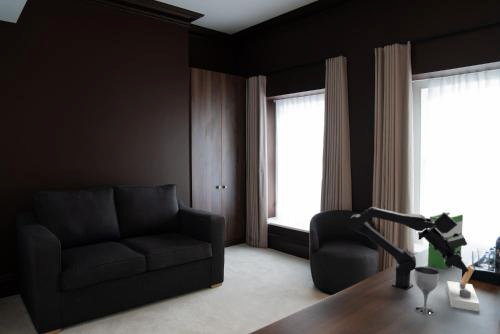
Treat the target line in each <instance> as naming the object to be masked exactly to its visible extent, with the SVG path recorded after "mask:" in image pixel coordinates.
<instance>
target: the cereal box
mask: <svg viewBox="0 0 500 334" xmlns="http://www.w3.org/2000/svg"><path fill="white" fill-rule="evenodd" d="M445 213H446V214H447V215H448V216H449V217H451V218H452V219H453V220H454V221H455V222H456V223H457V224H458V225H457V226H456V227H455V228H453V229H452V230H451V231H449V232H448V233H447V234H446V233H441V232H440V231H439V230H438V229H437V228H435V229H436V230H437V231H438V232H439V233H440V234H441V235H442V236H443V237H446V238H447V239H450V238H451V237H452V238H453V234H454V233H458V234H459V235H463V222H464V220H463V218H464V215H463V214H458V215H455V214H451V213H450V212H445ZM441 214H442V213H440V214H436V215H432V216H429V219H434V220H435V219H437V218H438V217H439V216H440V215H441ZM455 251H456V252H457V251H460V254H461V255H462V246H460V247H458V248H456V250H455ZM427 254H428V255H427V265H428V266H431V267H435V268H437V269H442V270H445V269H446V268H448V267H447V266H446V265H445V263H444V259H445V258H446V257H445V258H443V257H442V256H441V254H440V253H439V252H438V251H437V250H435V249H434V247H433V246H432V245H431V244H430V243H429V242H428V253H427Z"/></svg>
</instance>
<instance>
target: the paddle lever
mask: <svg viewBox="0 0 500 334" xmlns="http://www.w3.org/2000/svg"><path fill="white" fill-rule="evenodd" d="M467 268H468V271H467V272H466V271H464V272H465V273H464V274H463V276H462V278H461V280H460V281H459V283H460V286H461V288H463V289H464V288H465V285H466V284H468V283H469V280H470V278H471V276H472V275H473V273H474V271H475V269H474V266H472V265H468V267H467Z"/></svg>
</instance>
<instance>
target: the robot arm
mask: <svg viewBox="0 0 500 334" xmlns="http://www.w3.org/2000/svg"><path fill="white" fill-rule="evenodd" d="M446 213H447V212H441V213H440V214H441V215H440V216H439V217H438V218H437V219H435V220H434V219H430V218H429V217H425V216H424V215H422V214H416V213H401V212H396V211H392V210H387V209H383V208H378V207H376V206H370V207H369V208H368V209H365V210H364V211H362V212H361V213H356V214H355V213H354V214H353V215H351V217H350V218H349V219H348V221H347V222H348V226H349V228H350V229H351V230H353V231H355V232H357V233H358V234H362V235H364V236H366V237H367V238H368V239H370V240H371V241H372V242H373V243H375V244H376V245H377V246H379V247H380V248H381V249H382V250H384V251H385V252H386V253H387V254H389V255H390V256H392V257H393V258H394V260H395V261H396V262H395V282H393V283H391V286H393V287H397V288H400V289H402V290H408V289H410V288H412V287H413V286H414V284H413V283H411V272H412V271H415V268H416V267H417V260H416V256H415V254H414V253H413V252H412V251H410V250H409V249H408V248H407V247H404V248H403V249H402V248H399V247H398V246H396V245H395V244H394V243H393V242H391V241H390V240H389V239H387V237H384V236H383V235H382V234H381V233H380V232H378V231H377V230H376V229H374V228H373V227H372V226H371V225H370V224H369V221H370V220H372V219H373V218H376V219H380V220H384V221H389V222H392V223H397V224H401V225H403V226H406V227H408V228H410V229H411V230H414V231H417V235H418V240H419V241H420V240H422V239H423V238H424V239H425V241H427V242H428V244H429V243H430V244H431V245H432V246H433V247H434V249H435V250H437V251H438V252H439V253H440V254H441V256H442V257H443V258H445V257H446V258H445V259H444V263H445V265H446V266H447V268H448V269H450V268H451V267H454V268H457V269H459V270H461V271H463V272H467V271H468V267H467V265H466V264H465V262H464V261H463V260H462V259H463V257H462V253H461V254H460V251H457V252H456V251H455V250H456V248H458V247H460V246H461V247H463V246H468V243H467V241H466V239H465V237H464V234H462V235H459V234H458V233H454V234H453V238H452V237H451V238H450V239H447V238H446V237H443V236H442V235H441V234H440V233H439V232H438V231H437V230H436V229H435V228H437V229H438V230H439V231H440V232H441V233H446V234H447V233H448V232H449V231H451V230H452V229H453V228H455V227H456V226H457V225H458V224H457V223H456V222H455V221H454V220H453V219H452V218H451V217H449V216H448V215H447V214H446Z"/></svg>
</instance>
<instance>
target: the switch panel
mask: <svg viewBox="0 0 500 334" xmlns="http://www.w3.org/2000/svg"><path fill="white" fill-rule="evenodd" d="M459 282H460V281H459ZM459 282H457V281H449V280H446V291H447V295H448V300H449V305H450V308H457V309H463V310H468V311H475V312H480V300H479V299H478V296H477V293H476V291H475V288H474V286H473V283H472V284H471V283H467V284H466V285H465V288H464V289H463V288H461V286H460V283H459ZM460 290H466V291H469V292H471V297H469V298H466V297H462V296H460Z"/></svg>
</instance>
